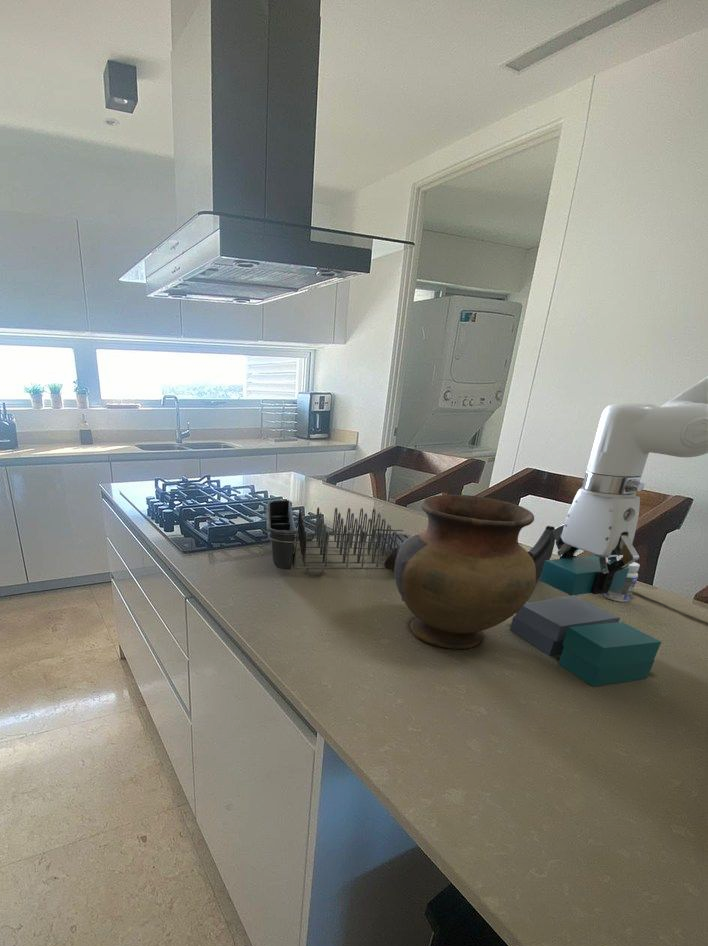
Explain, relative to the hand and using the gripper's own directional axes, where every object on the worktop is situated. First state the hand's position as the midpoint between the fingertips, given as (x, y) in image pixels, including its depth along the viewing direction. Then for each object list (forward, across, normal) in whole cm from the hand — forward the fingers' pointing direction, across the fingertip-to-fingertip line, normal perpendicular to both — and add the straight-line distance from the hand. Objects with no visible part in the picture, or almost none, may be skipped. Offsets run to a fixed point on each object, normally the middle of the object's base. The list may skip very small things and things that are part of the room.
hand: (580, 584), depth 87 cm
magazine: (+11, +26, -15) cm, 33 cm away
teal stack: (+11, -10, +3) cm, 16 cm away
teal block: (0, 0, 0) cm, 0 cm away
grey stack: (+11, 0, +1) cm, 11 cm away
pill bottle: (+12, +14, -27) cm, 33 cm away
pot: (+11, +6, +22) cm, 25 cm away
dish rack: (+10, +50, +22) cm, 56 cm away
